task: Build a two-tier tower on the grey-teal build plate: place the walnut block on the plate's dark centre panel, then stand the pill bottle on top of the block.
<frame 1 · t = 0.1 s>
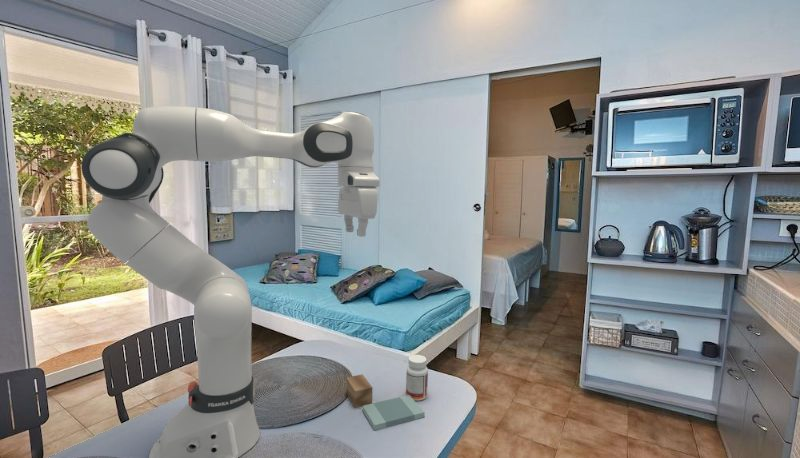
hand: (355, 234, 95), 48 cm above the table, tool pointing down, fingers open, 8 cm apart
walnut block: (358, 399, 106), on the table
build plate: (393, 413, 99), on the table
pill bottle: (416, 396, 108), on the table
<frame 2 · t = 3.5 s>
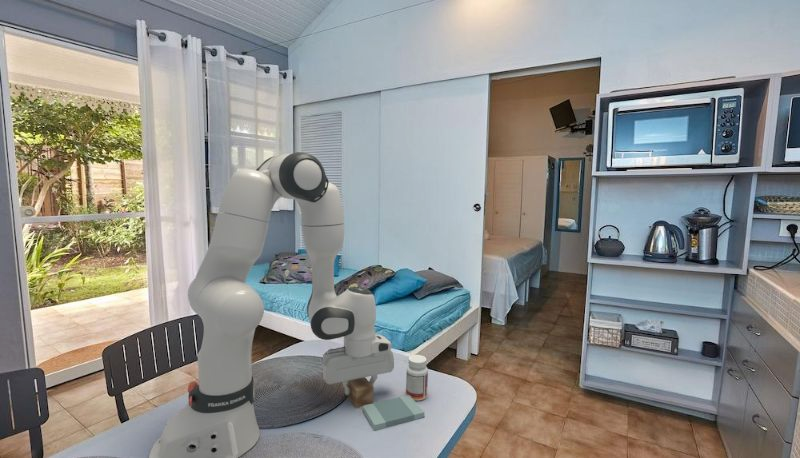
hand: (359, 391, 105), 2 cm above the table, tool pointing down, fingers closed on walnut block, 5 cm apart
walnut block: (359, 398, 106), on the table, touching gripper
everything else where it was.
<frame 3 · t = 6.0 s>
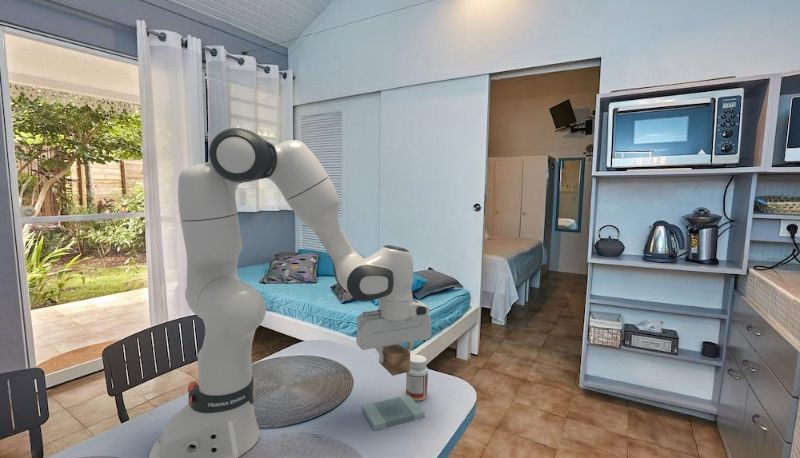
hand: (394, 359, 97), 15 cm above the table, tool pointing down, fingers closed on walnut block, 5 cm apart
walnut block: (394, 366, 98), point 13 cm above the table, touching gripper
everything else where it was.
when the fingers open (4 cm above the table, at t = 8.4 s): walnut block stays where it is, resting on build plate.
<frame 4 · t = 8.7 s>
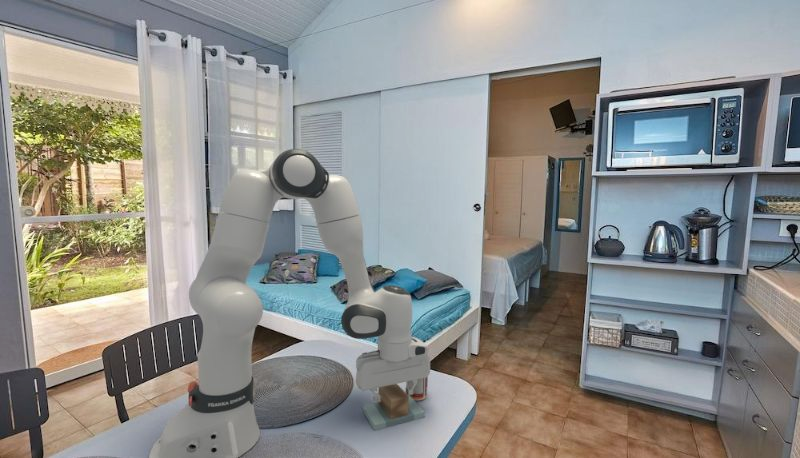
hand: (393, 397, 98), 4 cm above the table, tool pointing down, fingers open, 8 cm apart
walnut block: (392, 408, 99), point 1 cm above the table, touching build plate
everything else where it was.
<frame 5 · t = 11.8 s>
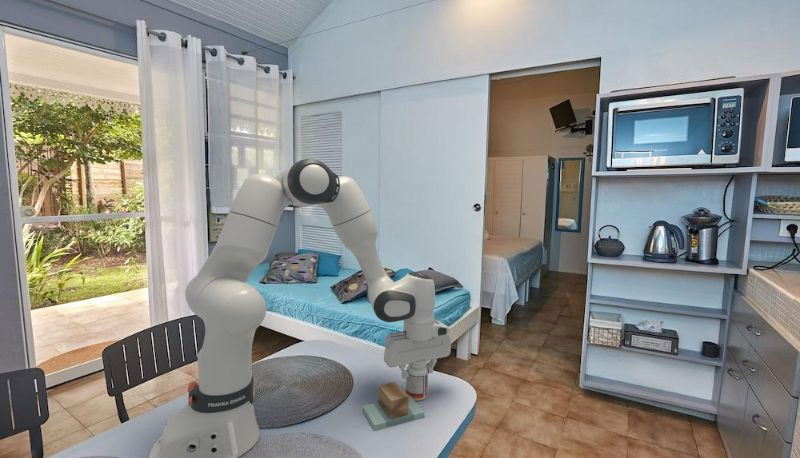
hand: (417, 375, 107), 6 cm above the table, tool pointing down, fingers open, 6 cm apart
pill bottle: (416, 396, 108), on the table, touching gripper
everything else where it was.
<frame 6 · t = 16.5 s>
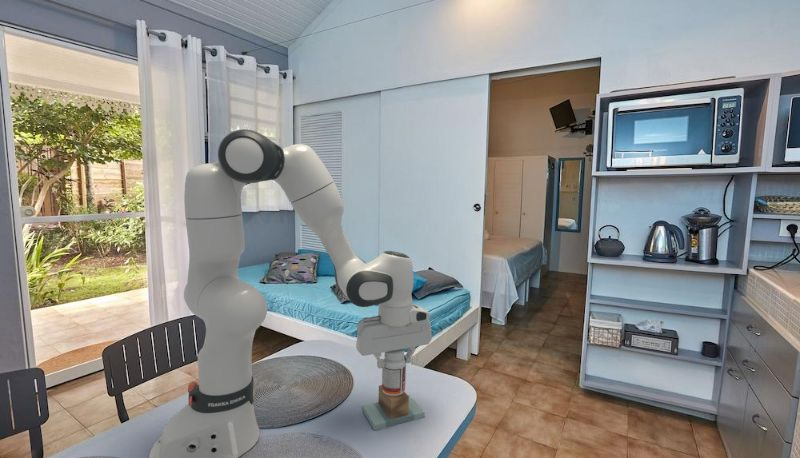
hand: (394, 364, 97), 14 cm above the table, tool pointing down, fingers closed on pill bottle, 6 cm apart
walnut block: (393, 408, 99), point 1 cm above the table, touching build plate, pill bottle
pill bottle: (393, 391, 98), point 6 cm above the table, touching gripper, walnut block
when the fingers open (14 cm above the table, at t = 17.0 s): pill bottle stays where it is, resting on walnut block.
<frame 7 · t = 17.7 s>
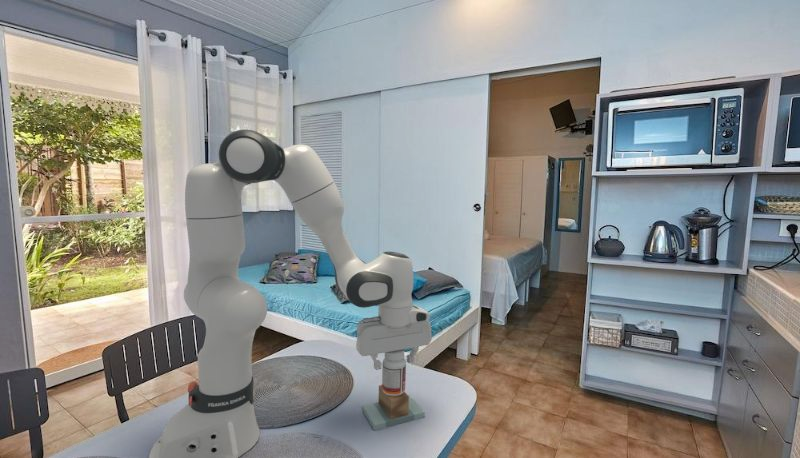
hand: (394, 365, 97), 14 cm above the table, tool pointing down, fingers open, 8 cm apart
pill bottle: (393, 391, 98), point 6 cm above the table, touching walnut block
everything else where it was.
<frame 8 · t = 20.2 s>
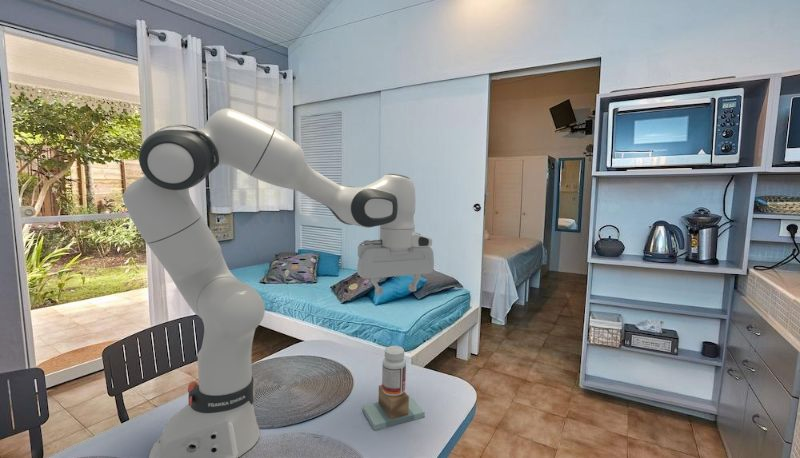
hand: (395, 292, 95), 33 cm above the table, tool pointing down, fingers open, 8 cm apart
nothing on the table moved.
at the end: walnut block inside the target area (0.1 cm from its centre), point 1.4 cm above the table; pill bottle inside the target area (0.2 cm from its centre), point 6.2 cm above the table; pill bottle tilted 0° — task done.
